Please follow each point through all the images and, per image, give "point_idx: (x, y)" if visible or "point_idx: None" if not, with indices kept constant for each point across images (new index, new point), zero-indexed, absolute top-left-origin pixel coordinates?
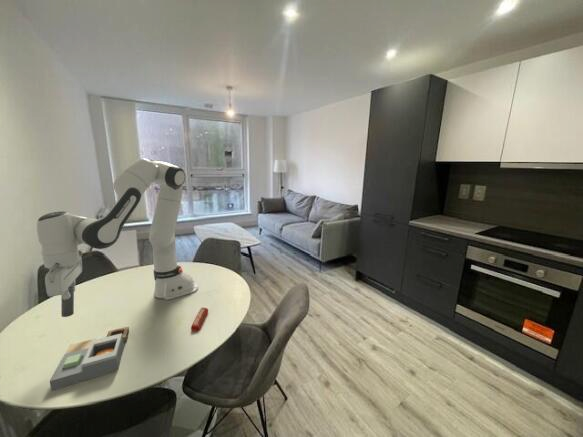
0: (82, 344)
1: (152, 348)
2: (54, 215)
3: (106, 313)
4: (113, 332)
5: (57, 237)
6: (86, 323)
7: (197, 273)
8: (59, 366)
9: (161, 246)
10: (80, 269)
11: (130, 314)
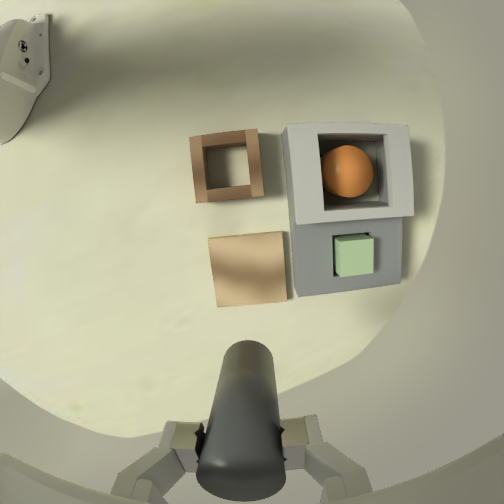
0: (228, 271)
1: (320, 55)
2: None
3: (65, 259)
4: (206, 183)
5: None
6: (106, 301)
7: None
8: (353, 285)
9: None
10: (1, 481)
11: (87, 174)
